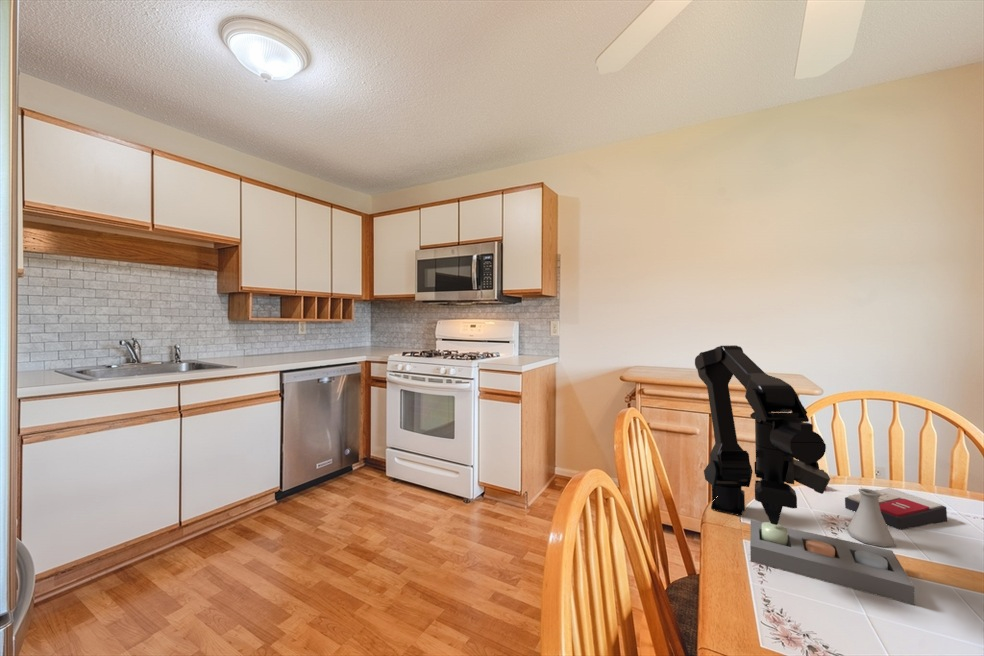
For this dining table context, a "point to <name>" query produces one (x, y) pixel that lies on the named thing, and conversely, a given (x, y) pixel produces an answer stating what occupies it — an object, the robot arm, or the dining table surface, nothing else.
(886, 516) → the black product box
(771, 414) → the robot arm
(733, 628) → the dining table surface
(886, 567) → the button blue
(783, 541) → the button sage
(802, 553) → the button panel
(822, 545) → the button terracotta
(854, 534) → the flask
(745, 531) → the dining table surface
